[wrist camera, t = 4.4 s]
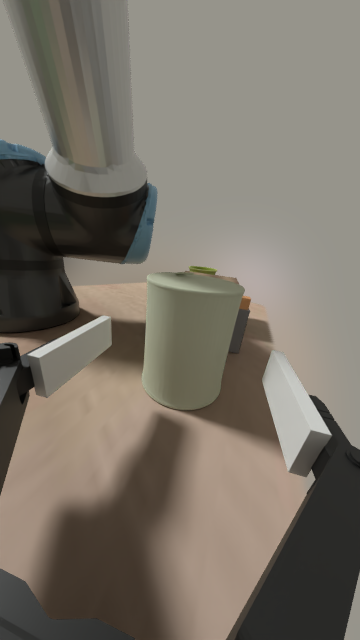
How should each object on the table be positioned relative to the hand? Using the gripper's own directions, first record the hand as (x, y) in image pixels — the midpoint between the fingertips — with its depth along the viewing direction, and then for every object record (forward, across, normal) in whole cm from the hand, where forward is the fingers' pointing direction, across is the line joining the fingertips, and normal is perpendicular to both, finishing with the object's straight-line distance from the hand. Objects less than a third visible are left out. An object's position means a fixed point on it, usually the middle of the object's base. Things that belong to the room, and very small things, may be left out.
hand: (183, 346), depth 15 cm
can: (+5, 0, -7) cm, 8 cm away
